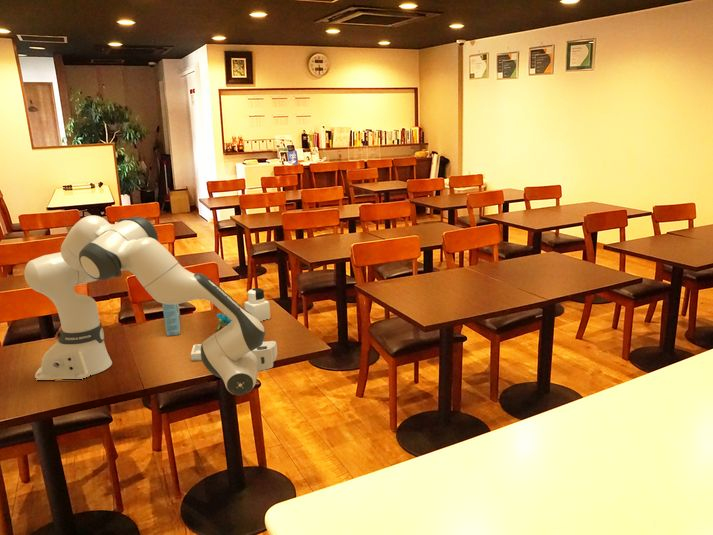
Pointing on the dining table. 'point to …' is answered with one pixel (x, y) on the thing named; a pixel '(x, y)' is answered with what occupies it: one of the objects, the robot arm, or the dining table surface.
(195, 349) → the tray
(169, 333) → the gum box
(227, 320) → the teal toy dinosaur
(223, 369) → the robot arm
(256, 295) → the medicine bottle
